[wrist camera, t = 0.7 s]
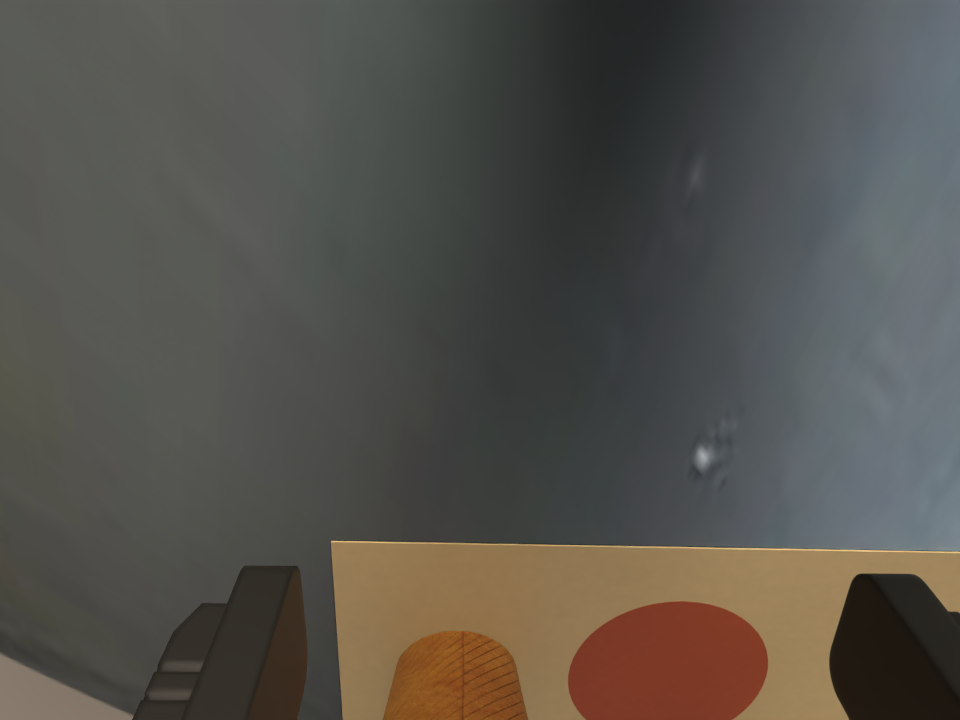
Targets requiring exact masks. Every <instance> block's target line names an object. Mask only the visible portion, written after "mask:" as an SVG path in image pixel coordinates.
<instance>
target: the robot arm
mask: <svg viewBox="0 0 960 720" xmlns="http://www.w3.org/2000/svg"><path fill="white" fill-rule="evenodd" d="M829 668H830V676H831V680H832V684H833V688H834V690H835V693H836V695H837V697H838V699H839V701H840V703H841V705H842V707H843V709H844V710H845V712H846V714H847V716H848V718H849V720H960V613H959V612H948V610H947V609H946V608H945V607H944V605H943V604H942V603H941V602H940V600H939V599H938V598H937V597H936V595H935V594H934V593H933V592H932V591H931V589H930V588H929V587H928V586H927V584H926V583H925V582H924V581H923V580H922V579H921V578H920V577H918V576H916V575H914V574H876V573H862V574H858V575H856V576H855V577H854V578H853V580H852V582H851V584H850V587H849V591H848V594H847V597H846V600H845V604H844V607H843V610H842V613H841V617H840V620H839V623H838V626H837V630H836V633H835V636H834V639H833V643H832V646H831V650H830V656H829ZM306 670H307V638H306V627H305V617H304V606H303V596H302V585H301V576H300V571H299V568H298V567H297V566H244V567H243V568H242V570H241V571H240V573H239V576H238V578H237V581H236V583H235V586H234V588H233V591H232V593H231V596H230V598H229V601H228V603H227V604H211V603H202V604H201V605H200V606H199V607H198V608H197V609H196V610H195V611H194V612H193V613H192V614H191V615H190V616H189V617H188V618H187V619H186V620H185V621H184V622H183V623H182V624H181V625H180V626H179V627H178V628H177V629H176V630H175V631H174V632H173V634H172V636H171V638H170V640H169V642H168V644H167V647H166V649H165V651H164V653H163V655H162V657H161V659H160V661H159V664H158V670H157V672H154V674H153V676H152V679H151V681H150V683H149V685H148V687H147V689H146V691H145V697H144V700H141V702H140V704H139V706H138V708H137V711H136V713H135V715H134V717H133V719H132V720H297V716H298V712H299V708H300V704H301V700H302V695H303V691H304V685H305V679H306Z"/></svg>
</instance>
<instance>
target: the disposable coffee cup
mask: <svg viewBox="0 0 960 720" xmlns="http://www.w3.org/2000/svg"><path fill="white" fill-rule="evenodd" d="M525 710H526V708H525V704H524V700H523V695H522V691H521V686H520V682H519V677H518V673H517V667H516V664H515V661H514V659H513V657H512V655H511V654H510V653H509V651H508V650H507V649H506V648H505V647H504V646H502V645H501V644H500V643H498V642H497V641H495V640H493V639H491V638H489V637H487V636H485V635H482V634H479V633H474V632H469V631H443V632H439V633H435V634H431V635H428V636H426V637H423V638H421V639H419V640H418V641H416V642H414V643H413V644H411V645H410V646H409V647H408V648H407V649H406V650H405V651H404V652H403V653H402V655H401V656H400V658H399V659H398V663H397V666H396V669H395V673H394V677H393V682H392V685H391V689H390V693H389V697H388V701H387V705H386V709H385V713H384V717H383V720H528V717H527V713H526V711H525Z"/></svg>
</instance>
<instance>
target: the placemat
mask: <svg viewBox="0 0 960 720" xmlns="http://www.w3.org/2000/svg"><path fill="white" fill-rule="evenodd" d="M331 551H332V566H333V580H334V595H335V610H336V625H337V639H338V654H339V669H340V684H341V698H342V713H343V720H383V717H384V713H385V709H386V705H387V701H388V697H389V693H390V689H391V685H392V682H393V677H394V673H395V669H396V666H397V663H398V659H399V658H400V656H401V655H402V653H403V652H404V651H405V650H406V649H407V648H408V647H409V646H410V645H411V644H413V643H414V642H416V641H418V640H419V639H421V638H423V637H426V636H428V635H431V634H435V633H439V632H443V631H469V632H474V633H479V634H482V635H485V636H487V637H489V638H491V639H493V640H495V641H497V642H498V643H500V644H501V645H502V646H504V647H505V648H506V649H507V650H508V651H509V653H510V654H511V655H512V657H513V659H514V661H515V664H516V667H517V673H518V677H519V682H520V686H521V691H522V695H523V700H524V704H525V708H526V710H525V711H526V713H527V717H528V720H849V718H848V716H847V714H846V712H845V710H844V709H843V707H842V705H841V703H840V701H839V699H838V697H837V695H836V693H835V690H834V688H833V684H832V680H831V676H830V668H829V656H830V650H831V646H832V643H833V639H834V636H835V633H836V630H837V626H838V623H839V620H840V617H841V613H842V610H843V607H844V604H845V600H846V597H847V594H848V591H849V587H850V584H851V582H852V580H853V578H854V577H855V576H856V575H858V574H862V573H876V574H914V575H916V576H918V577H920V578H921V579H922V580H923V581H924V582H925V583H926V584H927V586H928V587H929V588H930V589H931V591H932V592H933V593H934V594H935V595H936V597H937V598H938V599H939V600H940V602H941V603H942V604H943V605H944V607H945V608H946V609H947V610H948V612H959V613H960V552H939V551H882V550H825V549H768V548H711V547H654V546H597V545H540V544H483V543H426V542H369V541H331Z"/></svg>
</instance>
